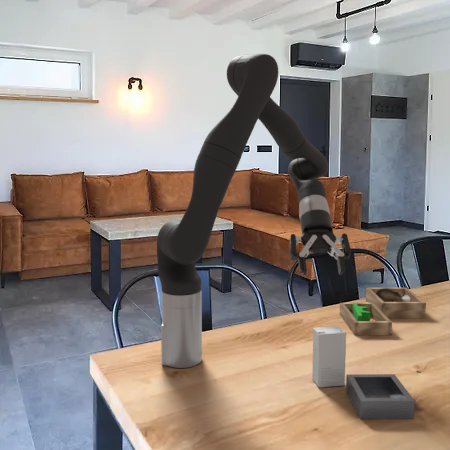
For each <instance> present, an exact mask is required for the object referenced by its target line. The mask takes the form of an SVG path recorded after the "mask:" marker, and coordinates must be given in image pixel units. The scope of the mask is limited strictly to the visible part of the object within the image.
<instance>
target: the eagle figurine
mask: <svg viewBox="0 0 450 450" xmlns="http://www.w3.org/2000/svg"><path fill="white" fill-rule="evenodd" d="M383 288H384V289H379V290H378V291H377V292H376V293H375V294H376V295H377V296H378V297H380V298H381V299H384V300H390V301H392V302H410V297H409V296H408V295H404V294H402V292H401V297H402V298H400V294H399V293H398V292H394V291H393V290H390V289H388V288H389V287H383Z"/></svg>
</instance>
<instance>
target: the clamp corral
mask: <svg viewBox="0 0 450 450" xmlns="http://www.w3.org/2000/svg"><path fill="white" fill-rule="evenodd" d="M353 303H354V302H339V316H341V319H342V320H343V321H344V323H345V324H346V325H347V326H348V327H347V328H349V329H350V331H351V333H352V334H353V335H354V336H391V335H392V332H393V322H392V320H391V319H390V318H387V317H386V316H385V314H384V313H383V312H382V311H381V310H380V309H379V308H378V307H377V306H376V305H375V304H374V303H367V302H356V303H357V305H358V306H363V307H368V312H370V317H371V318H372V319H373V320H370V321H357V320H356V319H355V317H354V316H353V315H352V311H353Z"/></svg>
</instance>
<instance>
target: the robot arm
mask: <svg viewBox="0 0 450 450" xmlns="http://www.w3.org/2000/svg"><path fill="white" fill-rule="evenodd" d="M226 79H227V83H228V85H229V87H230V88H231V90H232V91H233V92H234V93H235V94H236V95H237V98H236V99H235V102H234V104H233V105H232V107H231V108H230V109H229V111H228V112H227V113H226V114H225V115H224V116H223V117H222V118H221V119H220V121H218V122H217V124H216V125H215V126H213V128H212V129H211V130H210V132H209V133H208V134H207V136H206V137H205V139H204V141H203V143H202V146H201V148H200V151H199V153H198V155H197V158H196V161H195V163H194V164H195V165H194V168H193V176H192V191H191V197H190V200H189V203H188V206H187V208H186V209H185V211H184V214H183V217H182V218H181V220H180V219H172V220H169V221H167V222H165V223H164V224H163V225H162V226H161V228H160V229H159V231H158V234H157V237H156V238H157V239H156V256H157V257H156V258H157V260H156V261H157V272H158V273H157V274H158V278H159V281H160V284H161V286H160V287H161V320H162V322H161V325H160V336H161V337H160V340H161V341H160V342H161V346H160V347H161V350H160V351H161V352H160V353H161V365H162V366H166V367H167V366H168V367H171V368H174V369H184V368H186V369H187V368H192V367H196V366H197V365H199V364H201V362H202V361H203V347H202V346H203V334H202V333H203V332H202V331H203V330H202V329H203V327H202V326H203V325H202V323H203V322H202V320H203V318H202V317H203V316H202V278H201V276H200V275H199V273H198V270H197V268H196V265H195V263H197V262H198V261H199V260H200V259H201V258H202V257H203V255H204V253H205V252H206V249H207V247H208V244H209V241H210V238H211V235H212V231H213V228H214V225H215V222H216V219H217V216H218V213H219V210H220V208H221V206H222V203H223V201H224V198H225V196H226V193H227V191H228V189H229V186H230V184H231V181H232V179H233V177H234V175H235V174H236V171H237V168H238V167H239V164H240V161H241V159H242V156H243V154H244V150H245V148H246V146H247V144H248V142H249V139H250V137H251V135H252V133H253V130H254V128H255V126H256V123H257V121H258V120H259V122H261V124H263V126H264V127H265V128H266V130H267V131H268V133H269V134H270V136H271V137H272V139H273V140H274V141H275V143H276V144H277V147H278V148H279V149H280V151H281V152H282V154H283V155H284V157H285V158H286V159H289V160H292V161H290V163H289V165H288V166H287V167H288V168H287V171H288V175H289V177H290V179H291V181H292V182H293V184H294V187H295V188H296V193H297V198H298V205H299V208H298V213H299V214H298V215H299V221H300V228H301V229H300V230H301V236H296V234H294V233H291V235H290V237H289V259H290V260H291V261H297V262H298V269H299V270H298V271H299V273H300V274H302V276H306V275H307V272H308V270H307V263H306V262H307V261H306V258H307V257H308V256H309V255H310V254H311V253H312V254H314V255H315V254H322V255H323V254H327V253H328V254H329V256H331V257H334V259H335V260H336V261H337V262H336V265H337V270H338V271H337V272H338V275H340V276H343V274H344V273H345V271H346V268H347V267H346V262H345V261H346V260H347V261H348V260H350V258H351V255H352V248H351V245H350V242H349V238H348V235H347V233H341V234H342V235H335V234H334V230H333V225H332V218H331V212H330V207H329V203H328V201H327V194H326V188H325V185H324V183H323V182H322V181H320V180H318V179H320V178H323V177H324V176H325V175H327V173H328V171H329V163H328V160H327V158H326V157H325V155H324V154H323V153H322V152H321V151H320V150H318V148H316V147H315V146H314V145H313V144H312V143H311V142H309V140H308V139H307V138H306V136H305V133H304V132H303V131H302V129H301V128H300V126H299V124H298V123H297V121H296V120H295V119H294V118H293V117H292V116H291V115H290V114H289V113H288V112H287V111H286V110H285V109H283V108H282V107H281V105H279V104H278V103H276V102H275V101H274V99H273V98H272V97H271V95H272V94H273V92H274V90H275V88H276V86H277V83H278V79H279V65H278V62H277V60H276V59H275V58H274V57H273V56H272V55H270V54H267V53H266V54H265V53H255V54H251V53H250V54H242V55H238V56H235V57H233V58H232V59H231V61H229V63H228V65H227V69H226ZM336 242H337V243H338V245H339V246H341V249H340V248H339V246H338V245H337V244H336ZM299 243H301V244H302V245H303V248H302V250H301V251H300V252H297V246H298V245H299Z"/></svg>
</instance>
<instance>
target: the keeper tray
mask: <svg viewBox="0 0 450 450" xmlns="http://www.w3.org/2000/svg"><path fill="white" fill-rule="evenodd" d="M345 392H346V394H347V396H348V398H349V400H350V402H351V403H352V406H353V407H354V410H355V412H356V413H357V415H358V418H359V419H360V420H390V419H391V420H402V419H403V420H408V419H410V420H412V419H414V416H415V403H416V400H415V399H414V398H413V396H412V395H411V394H410V392H409V391H408V390H407V388H406V387H405V386H404V384H403V383H402V382H401V381H400V380H399V378H398V377H397V375H396V374H394V373H387V374H384V373H383V374H381V373H380V374H379V373H377V374H369V373H368V374H363V373H362V374H358V373H357V374H356V373H355V374H345Z"/></svg>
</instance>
